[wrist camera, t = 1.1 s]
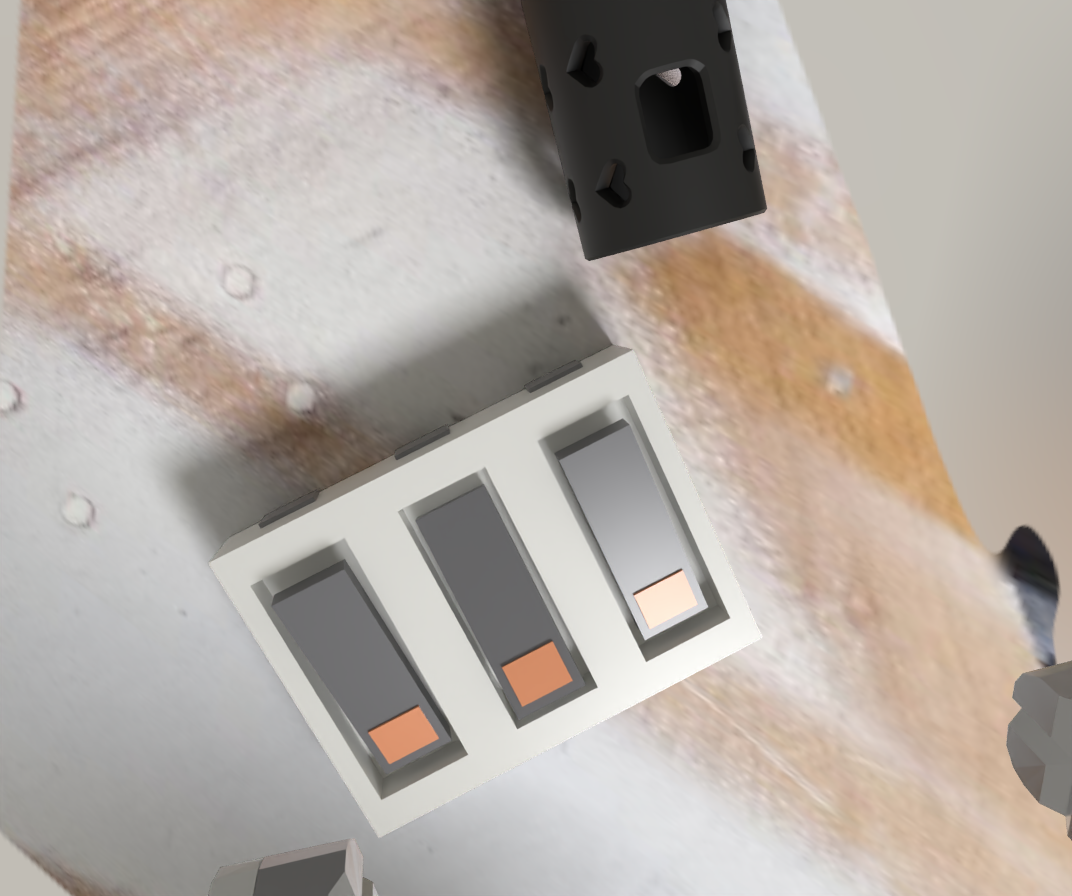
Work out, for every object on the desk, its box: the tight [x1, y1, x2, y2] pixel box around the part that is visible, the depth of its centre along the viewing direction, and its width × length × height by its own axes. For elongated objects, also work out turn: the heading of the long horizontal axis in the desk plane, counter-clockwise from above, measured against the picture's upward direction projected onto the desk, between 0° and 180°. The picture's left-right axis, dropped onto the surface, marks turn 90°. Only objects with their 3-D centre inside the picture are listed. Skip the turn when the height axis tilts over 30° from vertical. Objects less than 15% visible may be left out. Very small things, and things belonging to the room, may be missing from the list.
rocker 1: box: [271, 559, 452, 775], centre depth 42 cm, size 12×4×1 cm, turn 26°
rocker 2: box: [554, 418, 708, 640], centre depth 43 cm, size 12×4×1 cm, turn 26°
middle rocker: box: [415, 484, 585, 720], centre depth 42 cm, size 12×4×1 cm, turn 26°
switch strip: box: [208, 345, 763, 838], centre depth 44 cm, size 18×24×4 cm
